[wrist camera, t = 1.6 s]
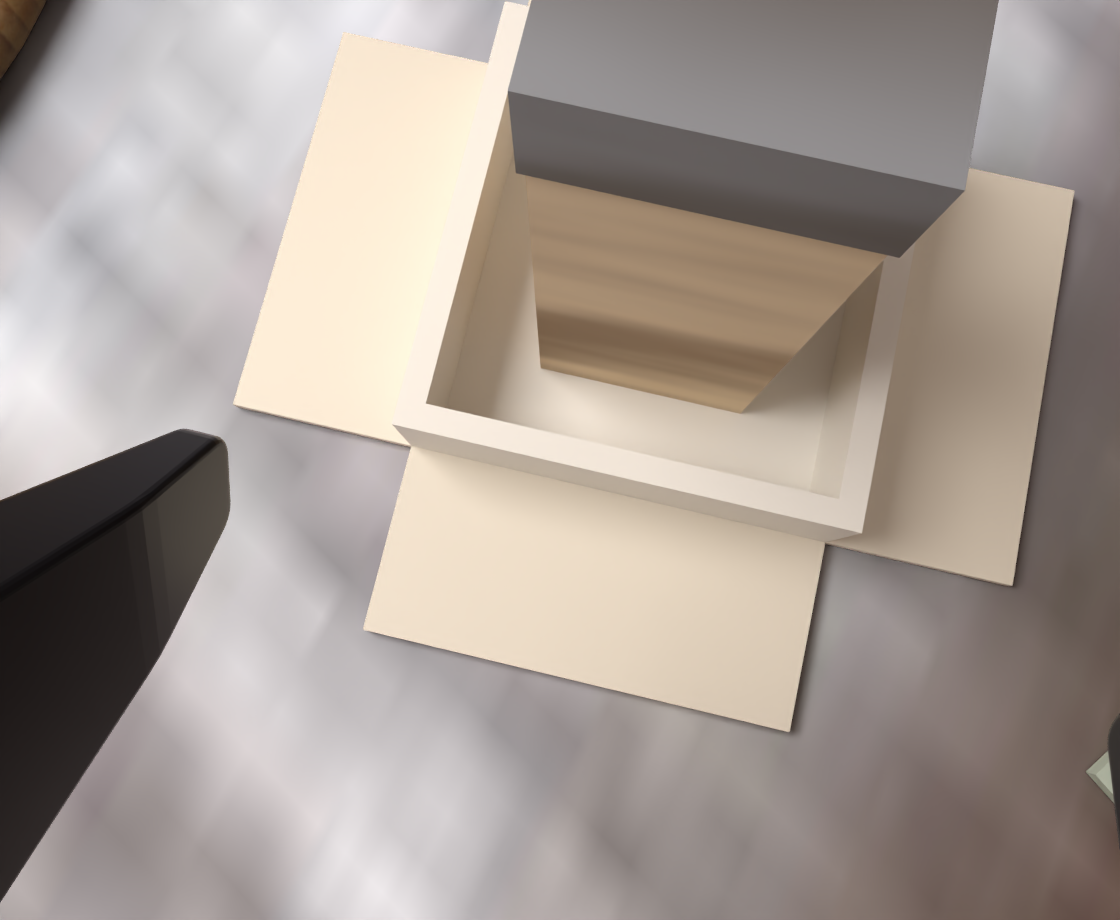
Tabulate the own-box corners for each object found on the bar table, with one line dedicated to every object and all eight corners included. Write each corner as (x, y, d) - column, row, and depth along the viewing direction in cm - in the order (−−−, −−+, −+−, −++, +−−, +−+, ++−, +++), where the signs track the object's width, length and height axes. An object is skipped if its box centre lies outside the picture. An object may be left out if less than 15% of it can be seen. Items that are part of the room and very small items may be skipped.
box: (743, 418, 23) (965, 191, 10) (535, 371, 23) (507, 90, 10) (784, 221, 23) (1035, -211, 11) (583, 177, 24) (609, -297, 11)
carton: (976, 776, 22) (1043, 803, 19) (184, 585, 22) (126, 582, 19) (1092, 39, 24) (1166, -39, 22) (389, -109, 25) (367, -205, 22)
